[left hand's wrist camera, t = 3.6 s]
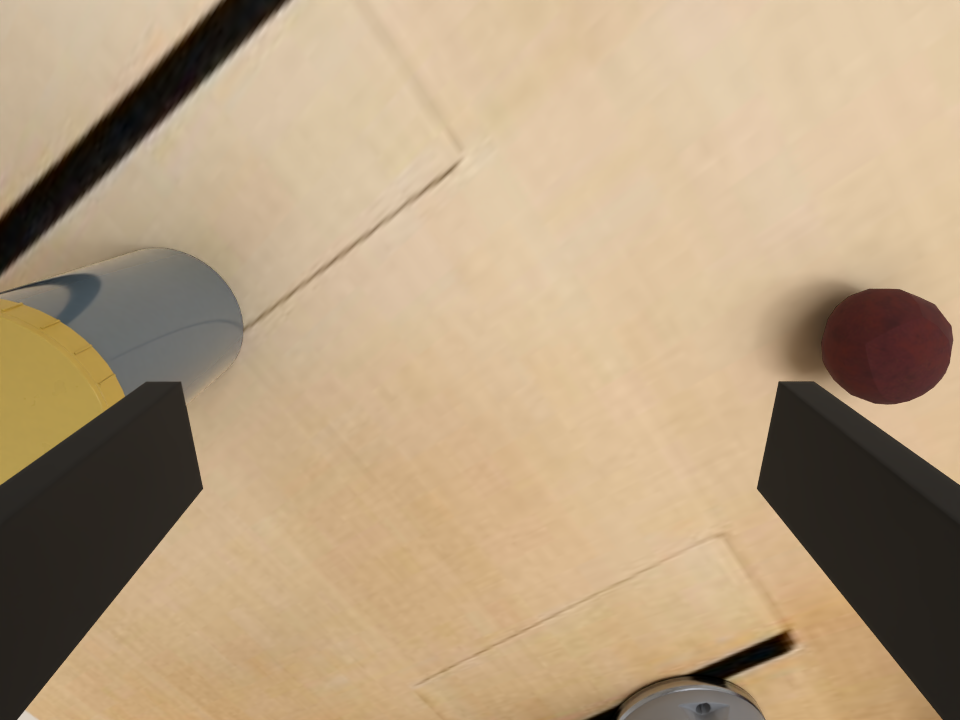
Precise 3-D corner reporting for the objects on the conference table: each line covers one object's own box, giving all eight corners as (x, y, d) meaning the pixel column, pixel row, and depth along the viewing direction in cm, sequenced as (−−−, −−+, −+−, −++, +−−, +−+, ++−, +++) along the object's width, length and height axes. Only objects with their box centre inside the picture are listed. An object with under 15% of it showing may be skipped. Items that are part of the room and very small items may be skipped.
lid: (181, 421, 27) (163, 437, 26) (45, 542, 30) (21, 563, 28) (-22, 244, 24) (-56, 250, 23) (-154, 395, 27) (-193, 410, 25)
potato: (823, 395, 43) (886, 440, 36) (782, 312, 40) (841, 345, 34) (919, 344, 41) (1002, 381, 35) (882, 255, 39) (964, 278, 32)
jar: (273, 328, 41) (155, 432, 26) (181, 410, 43) (25, 548, 29) (159, 216, 38) (-44, 261, 23) (68, 310, 41) (-170, 406, 26)
